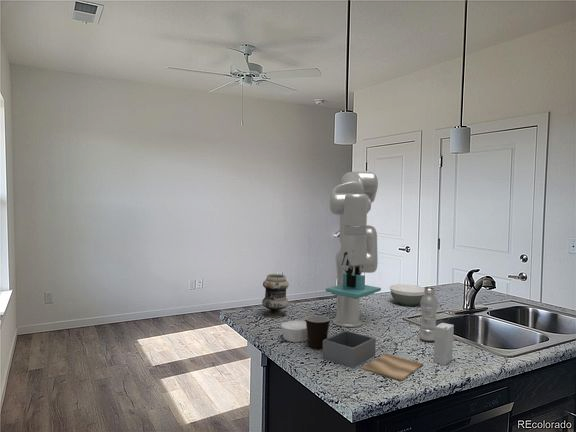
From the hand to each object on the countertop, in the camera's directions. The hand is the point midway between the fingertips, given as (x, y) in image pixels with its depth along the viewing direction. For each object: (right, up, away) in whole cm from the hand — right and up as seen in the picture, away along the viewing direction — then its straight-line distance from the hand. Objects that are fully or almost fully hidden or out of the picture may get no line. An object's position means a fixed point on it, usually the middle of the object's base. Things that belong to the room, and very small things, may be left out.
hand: (353, 285), depth 138 cm
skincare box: (+29, -25, -1) cm, 39 cm away
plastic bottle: (+31, -24, +20) cm, 44 cm away
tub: (-1, -24, +1) cm, 24 cm away
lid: (0, -2, 0) cm, 2 cm away
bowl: (+40, -22, +76) cm, 88 cm away
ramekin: (-19, -23, +19) cm, 36 cm away
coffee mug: (-11, -24, +12) cm, 29 cm away
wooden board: (+11, -25, -7) cm, 28 cm away
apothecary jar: (-28, -22, +50) cm, 62 cm away
